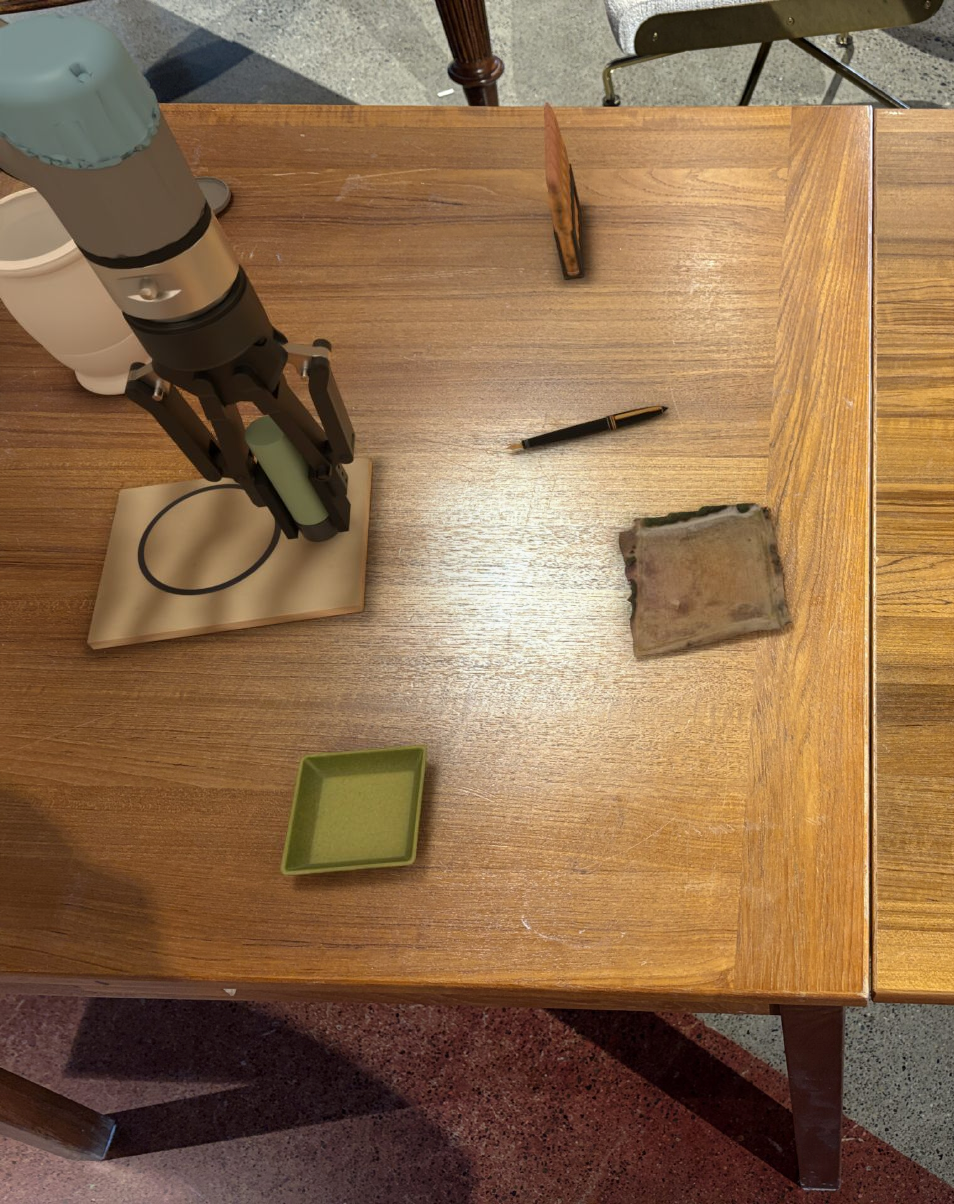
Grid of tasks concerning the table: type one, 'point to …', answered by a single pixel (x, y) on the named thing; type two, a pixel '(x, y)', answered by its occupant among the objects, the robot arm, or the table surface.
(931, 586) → the table surface
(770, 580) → the parchment
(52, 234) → the jar
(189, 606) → the sketch board
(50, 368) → the table surface
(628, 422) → the fountain pen
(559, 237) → the brown thin upright slab
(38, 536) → the table surface
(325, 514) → the marker
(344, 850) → the olive green square tray
